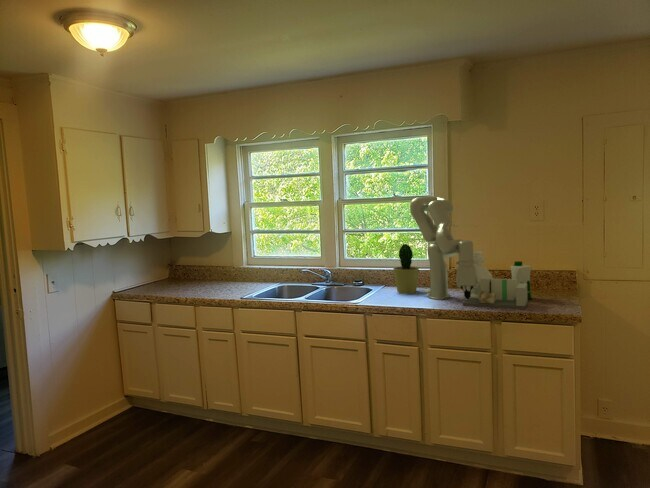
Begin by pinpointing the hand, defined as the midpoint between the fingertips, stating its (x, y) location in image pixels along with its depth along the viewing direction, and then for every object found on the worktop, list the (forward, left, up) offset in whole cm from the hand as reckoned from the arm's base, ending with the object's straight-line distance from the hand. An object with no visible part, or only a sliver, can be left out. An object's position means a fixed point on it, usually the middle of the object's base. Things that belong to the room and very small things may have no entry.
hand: (467, 298), depth 259 cm
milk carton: (+25, +19, -3) cm, 31 cm away
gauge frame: (+14, +2, -3) cm, 14 cm away
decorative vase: (+1, +22, -3) cm, 22 cm away
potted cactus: (-41, +24, -3) cm, 48 cm away
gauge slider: (+10, +2, -1) cm, 10 cm away
